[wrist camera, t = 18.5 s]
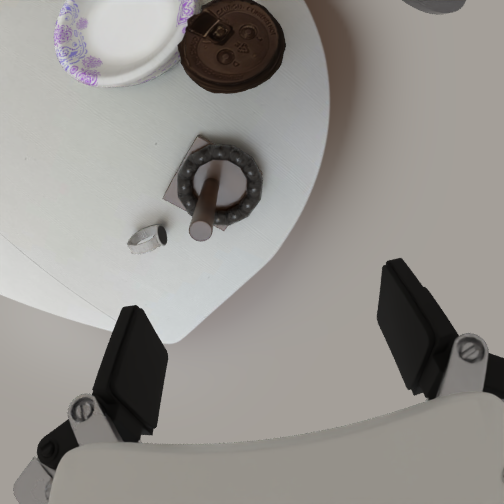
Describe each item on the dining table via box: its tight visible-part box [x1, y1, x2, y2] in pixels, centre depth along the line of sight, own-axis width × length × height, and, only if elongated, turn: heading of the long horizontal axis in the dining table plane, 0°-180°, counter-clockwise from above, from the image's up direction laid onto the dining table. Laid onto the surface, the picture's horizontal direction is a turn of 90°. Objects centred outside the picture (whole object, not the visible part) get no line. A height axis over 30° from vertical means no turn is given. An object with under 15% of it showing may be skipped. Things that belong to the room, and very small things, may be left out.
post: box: [163, 135, 262, 241], centre depth 30 cm, size 9×9×13 cm
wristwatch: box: [127, 225, 167, 254], centre depth 36 cm, size 3×5×5 cm, turn 105°
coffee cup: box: [177, 0, 286, 94], centre depth 22 cm, size 9×8×13 cm
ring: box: [177, 145, 263, 226], centre depth 34 cm, size 10×10×2 cm
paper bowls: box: [54, 0, 200, 88], centre depth 21 cm, size 15×15×8 cm
